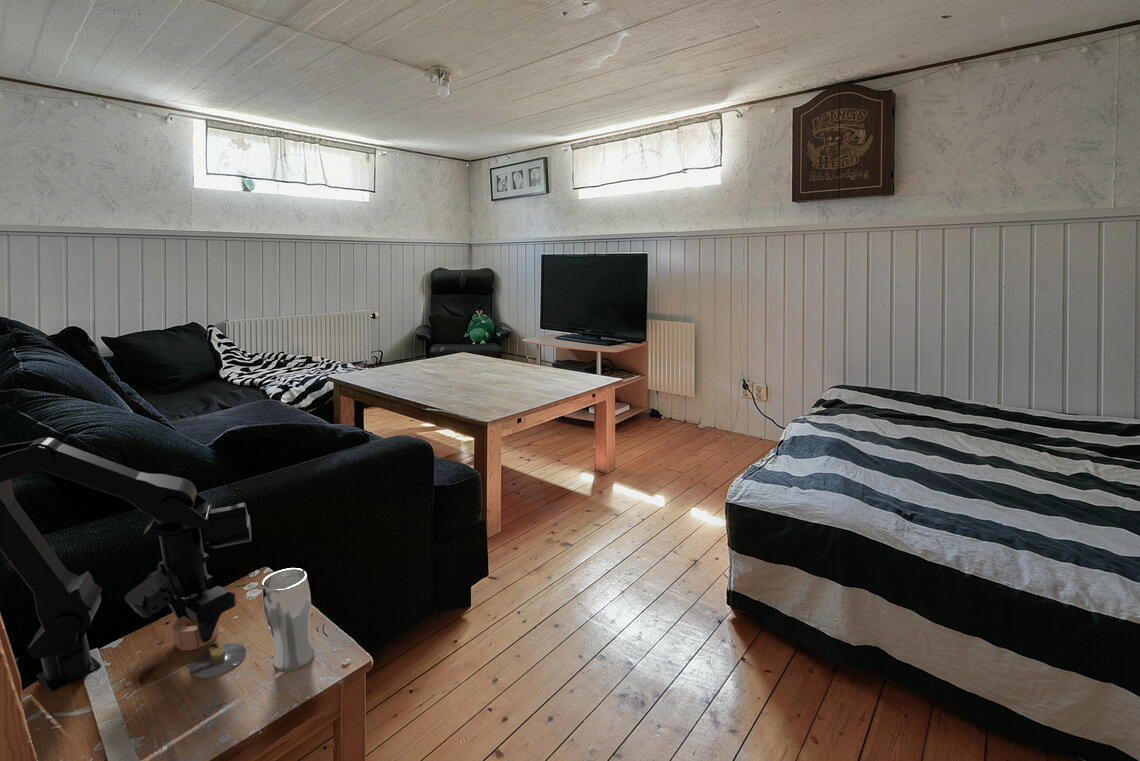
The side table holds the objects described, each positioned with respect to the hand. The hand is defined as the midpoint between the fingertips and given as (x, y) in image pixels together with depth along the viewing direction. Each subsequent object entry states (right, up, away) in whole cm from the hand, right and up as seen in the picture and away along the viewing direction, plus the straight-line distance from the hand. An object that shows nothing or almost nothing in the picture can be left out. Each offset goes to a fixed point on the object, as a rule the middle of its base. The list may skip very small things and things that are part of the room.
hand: (196, 634), depth 100 cm
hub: (+7, -2, -5) cm, 9 cm away
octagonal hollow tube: (0, -1, 0) cm, 1 cm away
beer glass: (+19, -2, -4) cm, 20 cm away
